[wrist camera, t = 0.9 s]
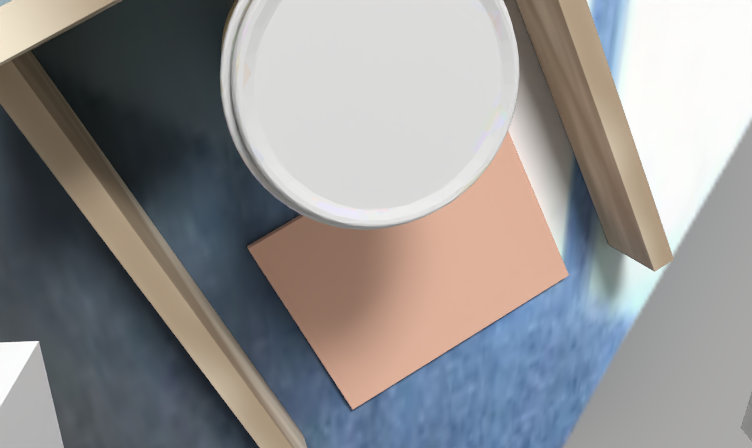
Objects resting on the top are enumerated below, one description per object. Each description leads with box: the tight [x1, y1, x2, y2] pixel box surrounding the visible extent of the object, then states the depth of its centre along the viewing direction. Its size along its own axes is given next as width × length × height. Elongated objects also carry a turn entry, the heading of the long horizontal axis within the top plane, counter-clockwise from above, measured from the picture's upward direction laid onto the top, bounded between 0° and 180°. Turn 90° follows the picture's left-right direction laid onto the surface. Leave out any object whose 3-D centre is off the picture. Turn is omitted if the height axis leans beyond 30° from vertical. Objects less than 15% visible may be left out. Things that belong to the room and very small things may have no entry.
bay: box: [0, 0, 674, 448], centre depth 29 cm, size 22×24×10 cm
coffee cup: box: [220, 0, 519, 230], centre depth 26 cm, size 9×9×12 cm
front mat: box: [247, 131, 569, 409], centre depth 36 cm, size 14×11×1 cm
